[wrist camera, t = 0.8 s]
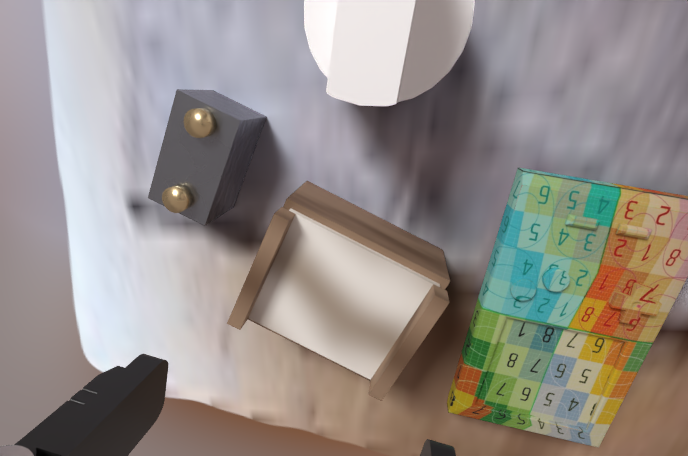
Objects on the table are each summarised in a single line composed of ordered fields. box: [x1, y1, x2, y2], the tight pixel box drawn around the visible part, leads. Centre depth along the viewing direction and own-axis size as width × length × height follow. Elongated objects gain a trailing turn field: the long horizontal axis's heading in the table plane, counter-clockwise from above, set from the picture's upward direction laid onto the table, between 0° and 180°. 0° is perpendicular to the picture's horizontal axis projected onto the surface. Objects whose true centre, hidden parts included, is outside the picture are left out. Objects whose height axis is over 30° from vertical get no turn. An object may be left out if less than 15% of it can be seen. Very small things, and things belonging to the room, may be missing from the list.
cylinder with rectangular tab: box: [304, 0, 475, 106], centre depth 20 cm, size 9×9×12 cm
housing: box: [148, 89, 266, 226], centre depth 28 cm, size 8×4×6 cm, turn 155°
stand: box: [227, 181, 450, 401], centre depth 29 cm, size 10×12×8 cm
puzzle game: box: [447, 168, 688, 447], centre depth 28 cm, size 12×5×20 cm
